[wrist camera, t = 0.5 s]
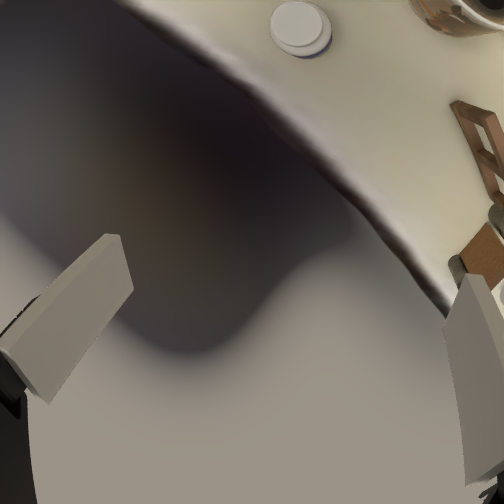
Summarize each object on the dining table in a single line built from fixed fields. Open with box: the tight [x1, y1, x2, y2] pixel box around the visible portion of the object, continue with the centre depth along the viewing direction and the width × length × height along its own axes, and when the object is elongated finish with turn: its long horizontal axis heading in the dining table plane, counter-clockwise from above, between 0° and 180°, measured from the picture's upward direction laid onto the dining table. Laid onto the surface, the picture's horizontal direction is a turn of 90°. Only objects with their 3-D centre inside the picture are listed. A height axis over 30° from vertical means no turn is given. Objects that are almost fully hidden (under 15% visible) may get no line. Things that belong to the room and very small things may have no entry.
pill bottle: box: [269, 1, 332, 59], centre depth 23 cm, size 5×5×9 cm
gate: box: [451, 100, 504, 212], centre depth 23 cm, size 12×1×9 cm, turn 39°
